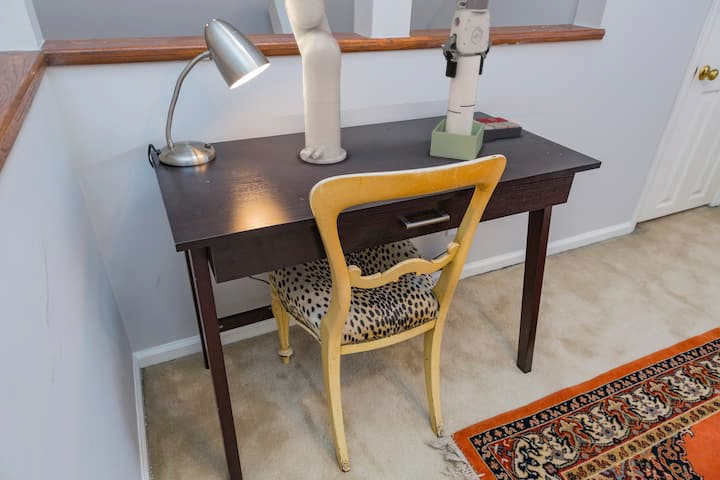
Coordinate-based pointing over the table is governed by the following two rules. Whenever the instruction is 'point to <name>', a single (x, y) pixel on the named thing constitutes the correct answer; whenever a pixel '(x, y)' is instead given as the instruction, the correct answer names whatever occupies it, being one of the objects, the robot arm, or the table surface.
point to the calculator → (499, 128)
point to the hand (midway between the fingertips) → (463, 75)
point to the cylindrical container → (463, 95)
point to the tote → (456, 142)
